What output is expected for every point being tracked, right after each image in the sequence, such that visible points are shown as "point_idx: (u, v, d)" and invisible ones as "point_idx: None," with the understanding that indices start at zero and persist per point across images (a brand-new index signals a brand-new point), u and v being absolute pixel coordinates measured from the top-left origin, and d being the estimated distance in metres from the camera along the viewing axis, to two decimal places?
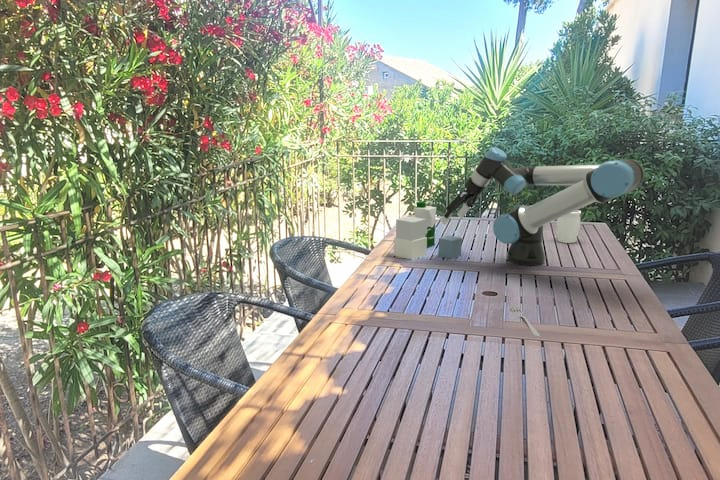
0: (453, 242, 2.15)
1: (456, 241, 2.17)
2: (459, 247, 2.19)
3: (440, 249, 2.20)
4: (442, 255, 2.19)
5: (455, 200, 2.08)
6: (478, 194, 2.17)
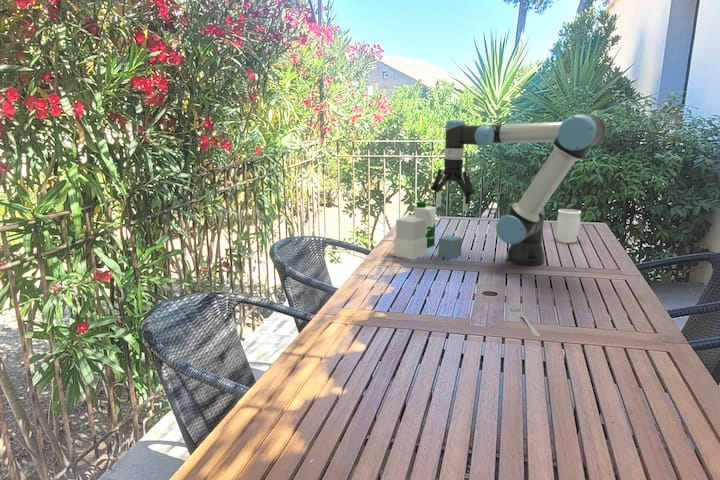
0: (453, 242, 2.15)
1: (456, 241, 2.17)
2: (459, 247, 2.19)
3: (440, 249, 2.20)
4: (442, 255, 2.19)
5: (468, 182, 2.08)
6: None
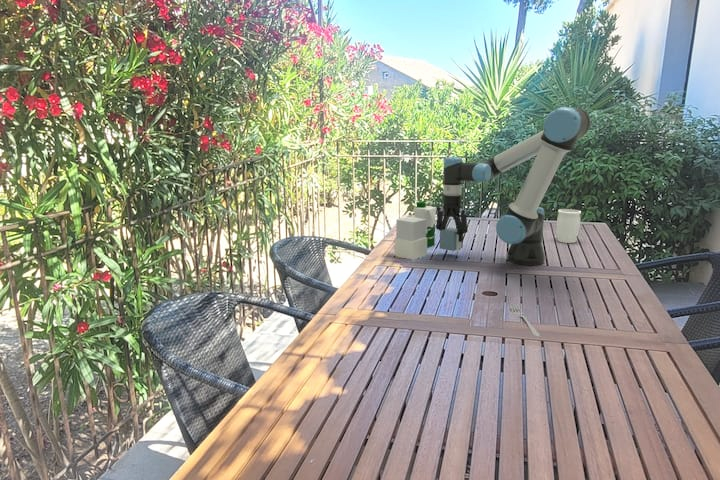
0: (454, 233, 2.14)
1: (457, 233, 2.16)
2: None
3: (441, 241, 2.19)
4: (443, 247, 2.18)
5: (464, 220, 2.12)
6: None
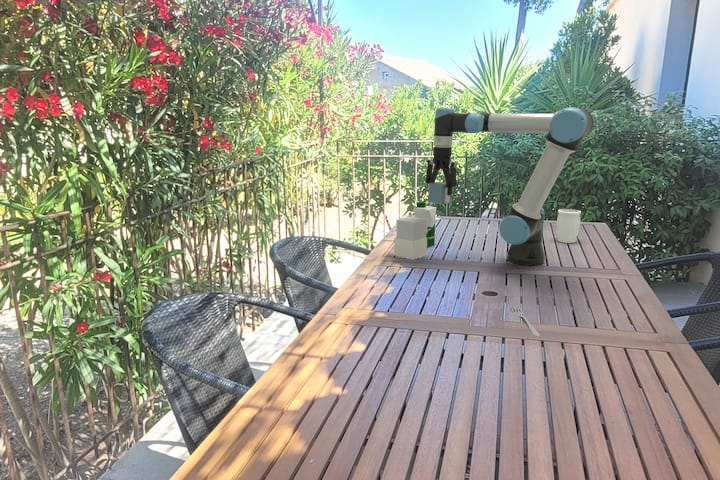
0: (443, 186, 2.10)
1: (446, 186, 2.12)
2: None
3: (430, 194, 2.15)
4: (432, 201, 2.15)
5: (453, 173, 2.08)
6: None
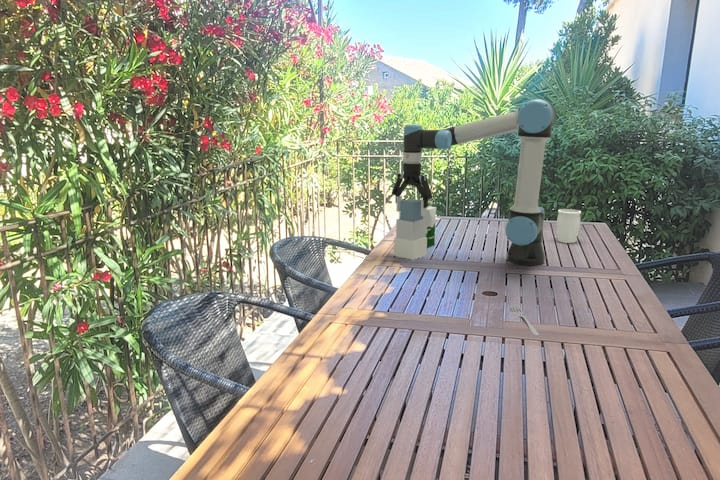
0: (414, 204, 2.12)
1: (417, 203, 2.14)
2: None
3: (401, 212, 2.17)
4: (403, 218, 2.17)
5: (426, 186, 2.09)
6: None
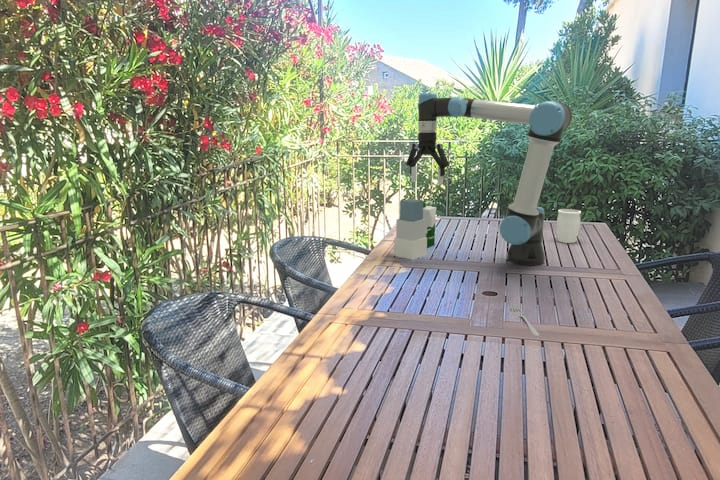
0: (414, 204, 2.12)
1: (417, 203, 2.14)
2: (420, 210, 2.16)
3: (401, 212, 2.17)
4: (403, 218, 2.17)
5: (442, 154, 2.09)
6: None
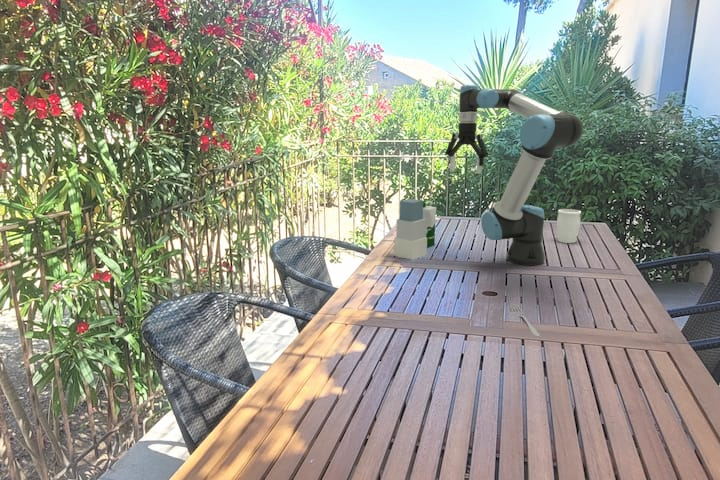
0: (413, 204, 2.12)
1: (417, 203, 2.14)
2: (420, 210, 2.17)
3: (401, 212, 2.17)
4: (403, 218, 2.17)
5: (482, 144, 2.16)
6: None
